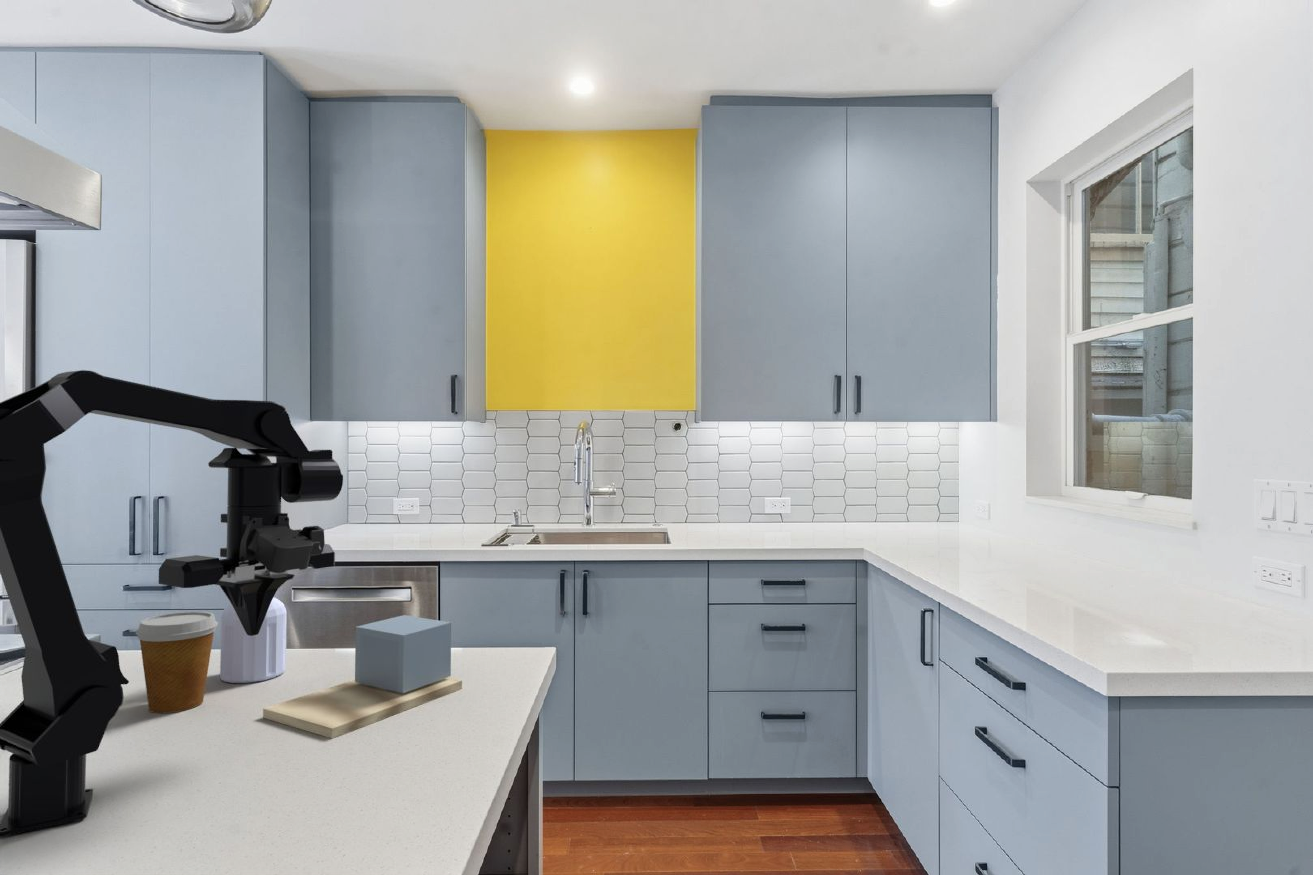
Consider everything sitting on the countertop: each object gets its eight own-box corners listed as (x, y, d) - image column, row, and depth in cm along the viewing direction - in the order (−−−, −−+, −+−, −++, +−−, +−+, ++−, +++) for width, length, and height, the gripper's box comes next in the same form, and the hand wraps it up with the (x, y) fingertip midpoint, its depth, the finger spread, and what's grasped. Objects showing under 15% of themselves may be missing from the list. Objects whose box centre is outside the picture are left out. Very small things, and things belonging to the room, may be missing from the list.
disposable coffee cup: (222, 691, 107) (223, 608, 107) (208, 712, 98) (210, 622, 98) (145, 698, 104) (147, 613, 104) (124, 721, 95) (126, 628, 95)
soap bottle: (225, 670, 117) (228, 516, 118) (289, 664, 120) (291, 515, 121) (213, 686, 109) (217, 521, 109) (282, 680, 112) (284, 520, 113)
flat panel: (332, 738, 90) (333, 695, 90) (263, 717, 96) (263, 677, 96) (462, 688, 109) (462, 653, 109) (396, 674, 116) (396, 641, 116)
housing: (402, 693, 102) (403, 635, 102) (354, 681, 106) (355, 626, 107) (450, 676, 109) (451, 622, 110) (403, 666, 114) (404, 614, 114)
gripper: (214, 513, 76) (211, 664, 76) (364, 503, 93) (362, 627, 92) (157, 509, 82) (154, 649, 81) (308, 500, 98) (306, 617, 98)
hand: (252, 634), depth 88 cm, fingers closed
